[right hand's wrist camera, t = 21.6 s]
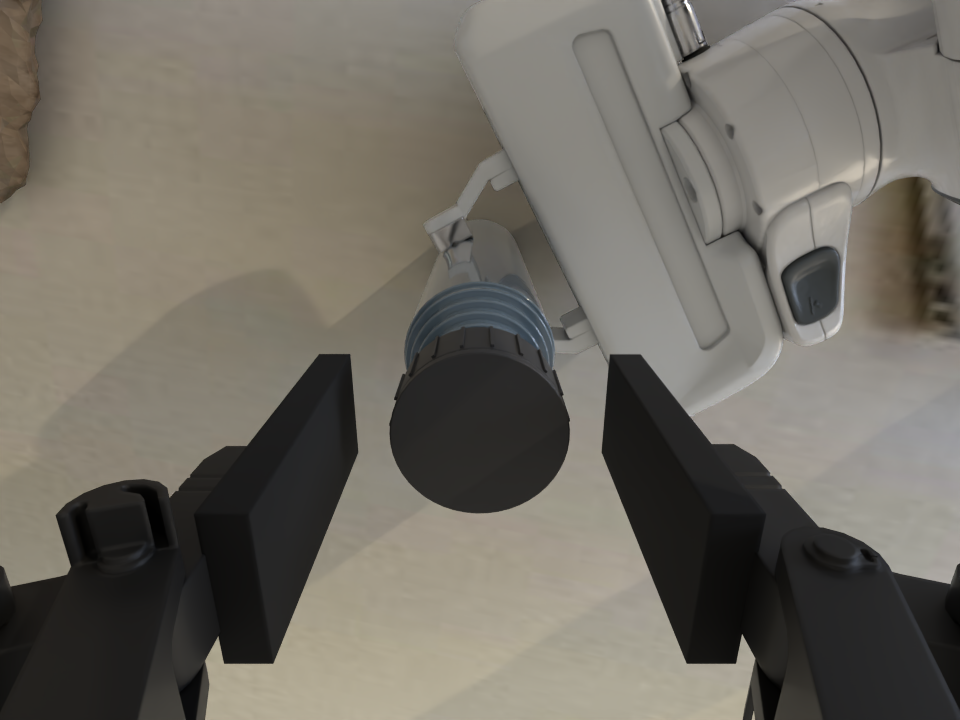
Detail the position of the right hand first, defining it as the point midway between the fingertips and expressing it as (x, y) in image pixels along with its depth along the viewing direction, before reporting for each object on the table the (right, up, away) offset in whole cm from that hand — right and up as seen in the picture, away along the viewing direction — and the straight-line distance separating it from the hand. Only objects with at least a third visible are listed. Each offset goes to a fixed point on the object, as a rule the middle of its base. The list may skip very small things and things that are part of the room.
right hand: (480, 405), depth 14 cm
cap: (0, 0, -1) cm, 1 cm away
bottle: (0, +7, +19) cm, 20 cm away
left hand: (-1, +4, +13) cm, 13 cm away
